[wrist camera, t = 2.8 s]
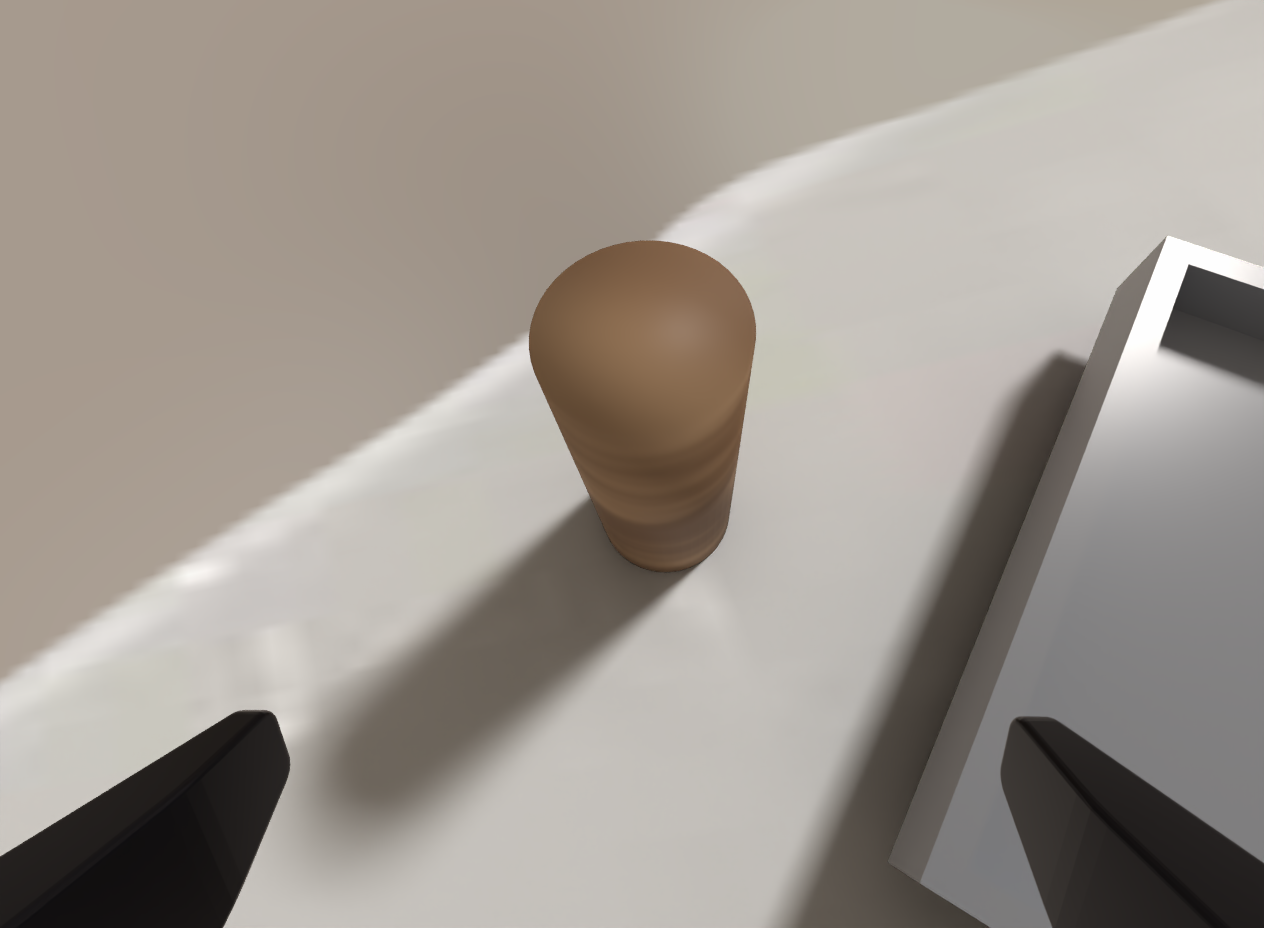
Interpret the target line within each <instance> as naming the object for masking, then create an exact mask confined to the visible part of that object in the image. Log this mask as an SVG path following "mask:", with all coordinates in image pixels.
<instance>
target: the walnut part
mask: <svg viewBox="0 0 1264 928" xmlns="http://www.w3.org/2000/svg"><path fill="white" fill-rule="evenodd" d="M755 341H756V324H755V317H754V312H753V309H752V306H751V303H750V300H749V298H748V296H747V294H746V292H745V290H744V289H743V287H742V286H741V284H740V283H739V282H738V280H737V279H736V278H735V277H734V276H733V275H732V274H731V272H730V271H729V270H728V269H726V268H725V267H724V266H723V265H722V264H720V263H719V262H718V261H716V260H715V259H713V258H711V257H710V256H708V255H706V254H704V253H702V252H700V251H698V250H696V249H693V248H690V247H687V246H684V245H680V244H676V243H671V242H663V241H635V242H626V243H621V244H617V245H613V246H610V247H606V248H603V249H600V250H598V251H596V252H594V253H591V254H589V255H587V256H585V257H584V258H582V259H580V260H579V261H577V262H575V263H574V264H573V265H571V266H570V267H569V268H567V269H566V270H565V271H564V272H563V273H562V274H561V275H559V276H558V277H557V278H556V279H555V280H554V282H553V283H552V284H551V285H550V286H549V288H548V289H547V290H546V292H545V293H544V295H543V296H542V298H541V300H540V302H539V304H538V306H537V308H536V310H535V313H534V316H533V319H532V322H531V327H530V334H529V352H530V359H531V363H532V366H533V370H534V373H535V375H536V377H537V380H538V382H539V384H540V386H541V388H542V391H543V393H544V395H545V397H546V400H547V402H548V404H549V406H550V409H551V411H552V413H553V415H554V417H555V420H556V422H557V424H558V426H559V429H560V431H561V433H562V435H563V437H564V440H565V442H566V444H567V446H568V449H569V451H570V453H571V455H572V457H573V460H574V462H575V464H576V466H577V469H578V471H579V473H580V475H581V478H582V480H583V482H584V484H585V486H586V489H587V491H588V493H589V495H590V498H591V500H592V502H593V504H594V506H595V509H596V511H597V513H598V515H599V518H600V520H601V522H602V524H603V527H604V529H605V531H606V533H607V535H608V537H609V539H610V541H611V543H612V544H613V546H614V547H615V549H616V550H617V551H618V552H619V553H620V554H621V555H622V556H623V557H624V558H625V559H627V560H628V561H630V562H631V563H633V564H635V565H637V566H639V567H641V568H644V569H647V570H651V571H656V572H675V571H680V570H684V569H687V568H690V567H692V566H694V565H696V564H698V563H700V562H701V561H703V560H704V559H706V558H707V557H708V556H709V555H710V554H711V553H712V552H713V551H714V550H715V549H716V548H717V547H718V545H719V543H720V542H721V540H722V539H723V536H724V534H725V532H726V529H727V526H728V520H729V514H730V507H731V501H732V494H733V487H734V481H735V474H736V467H737V461H738V454H739V448H740V441H741V434H742V428H743V421H744V414H745V408H746V401H747V394H748V388H749V381H750V374H751V368H752V361H753V355H754V348H755Z"/></svg>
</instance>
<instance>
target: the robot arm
mask: <svg viewBox="0 0 1264 928" xmlns="http://www.w3.org/2000/svg"><path fill="white" fill-rule="evenodd" d="M289 771H290V757H289V754H288V751H287V748H286V745H285V742H284V739H283V736H282V733H281V730H280V727H279V724H278V721H277V718H276V716H275V715H274V714H273V713H272V712H270V711H267V710H242V711H237V712H235V713H233V714H231V715H229V716H228V717H226V718H224V719H223V720H221V721H220V722H218V723H216V724H215V725H213V726H211V727H210V728H208V729H207V730H205V731H203V732H202V733H200V734H198V735H197V736H195V737H194V738H192V739H190V740H189V741H187V742H185V743H184V744H182V745H181V746H179V747H177V748H176V749H174V750H173V751H171V752H169V753H168V754H166V755H164V756H163V757H161V758H160V759H158V760H156V761H155V762H153V763H151V764H150V765H148V766H147V767H145V768H143V769H142V770H140V771H138V772H137V773H135V774H134V775H132V776H130V777H129V778H127V779H125V780H124V781H122V782H121V783H119V784H117V785H116V786H114V787H112V788H111V789H109V790H108V791H106V792H104V793H103V794H101V795H99V796H98V797H96V798H95V799H93V800H91V801H90V802H88V803H86V804H85V805H83V806H82V807H80V808H78V809H77V810H75V811H74V812H72V813H70V814H69V815H67V816H65V817H64V818H62V819H61V820H59V821H57V822H56V823H54V824H52V825H51V826H49V827H48V828H46V829H44V830H43V831H41V832H39V833H38V834H36V835H35V836H33V837H31V838H30V839H28V840H26V841H25V842H23V843H22V844H20V845H18V846H17V847H15V848H13V849H12V850H10V851H9V852H7V853H5V854H4V855H2V856H0V928H223V927H224V925H225V923H226V921H227V919H228V917H229V915H230V913H231V911H232V908H233V906H234V904H235V902H236V900H237V898H238V896H239V893H240V891H241V889H242V887H243V884H244V882H245V880H246V877H247V875H248V873H249V870H250V868H251V865H252V863H253V861H254V858H255V856H256V853H257V851H258V849H259V846H260V844H261V841H262V839H263V836H264V834H265V832H266V829H267V827H268V824H269V822H270V820H271V817H272V815H273V812H274V810H275V808H276V805H277V803H278V800H279V798H280V796H281V793H282V791H283V788H284V786H285V784H286V781H287V778H288V775H289ZM1000 778H1001V784H1002V789H1003V792H1004V795H1005V798H1006V800H1007V803H1008V806H1009V809H1010V812H1011V814H1012V817H1013V820H1014V823H1015V826H1016V829H1017V831H1018V834H1019V837H1020V840H1021V843H1022V845H1023V848H1024V851H1025V854H1026V857H1027V860H1028V862H1029V865H1030V868H1031V871H1032V874H1033V876H1034V879H1035V882H1036V885H1037V888H1038V891H1039V893H1040V896H1041V899H1042V902H1043V905H1044V908H1045V910H1046V913H1047V915H1048V918H1049V921H1050V923H1051V926H1052V928H1264V862H1262V861H1261V860H1259V859H1258V858H1256V857H1255V856H1254V855H1252V854H1251V853H1249V852H1248V851H1246V850H1245V849H1243V848H1242V847H1240V846H1239V845H1238V844H1236V843H1235V842H1233V841H1232V840H1230V839H1229V838H1227V837H1226V836H1225V835H1223V834H1222V833H1220V832H1219V831H1217V830H1216V829H1214V828H1213V827H1212V826H1210V825H1209V824H1207V823H1206V822H1204V821H1203V820H1201V819H1200V818H1199V817H1197V816H1196V815H1194V814H1193V813H1191V812H1190V811H1188V810H1187V809H1186V808H1184V807H1183V806H1181V805H1180V804H1178V803H1177V802H1175V801H1174V800H1173V799H1171V798H1170V797H1168V796H1167V795H1165V794H1164V793H1162V792H1161V791H1160V790H1158V789H1157V788H1155V787H1154V786H1152V785H1151V784H1149V783H1148V782H1146V781H1145V780H1144V779H1142V778H1141V777H1139V776H1138V775H1136V774H1135V773H1133V772H1132V771H1131V770H1129V769H1128V768H1126V767H1125V766H1123V765H1122V764H1120V763H1119V762H1118V761H1116V760H1115V759H1113V758H1112V757H1110V756H1109V755H1107V754H1106V753H1105V752H1103V751H1102V750H1100V749H1099V748H1097V747H1096V746H1094V745H1093V744H1092V743H1090V742H1089V741H1087V740H1086V739H1084V738H1083V737H1081V736H1080V735H1079V734H1077V733H1076V732H1074V731H1073V730H1071V729H1070V728H1068V727H1067V726H1066V725H1064V724H1063V723H1061V722H1060V721H1058V720H1056V719H1054V718H1051V717H1040V716H1019V717H1016V718H1014V719H1013V720H1012V722H1011V724H1010V726H1009V731H1008V735H1007V740H1006V744H1005V749H1004V753H1003V758H1002V762H1001V768H1000Z"/></svg>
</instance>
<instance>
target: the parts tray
mask: <svg viewBox="0 0 1264 928" xmlns="http://www.w3.org/2000/svg"><path fill="white" fill-rule="evenodd" d="M1019 716H1040V717H1051V718H1054V719H1056V720H1058V721H1060V722H1061V723H1063V724H1064V725H1066V726H1067V727H1068V728H1070V729H1071V730H1073V731H1074V732H1076V733H1077V734H1079V735H1080V736H1081V737H1083V738H1084V739H1086V740H1087V741H1089V742H1090V743H1092V744H1093V745H1094V746H1096V747H1097V748H1099V749H1100V750H1102V751H1103V752H1105V753H1106V754H1107V755H1109V756H1110V757H1112V758H1113V759H1115V760H1116V761H1118V762H1119V763H1120V764H1122V765H1123V766H1125V767H1126V768H1128V769H1129V770H1131V771H1132V772H1133V773H1135V774H1136V775H1138V776H1139V777H1141V778H1142V779H1144V780H1145V781H1146V782H1148V783H1149V784H1151V785H1152V786H1154V787H1155V788H1157V789H1158V790H1160V791H1161V792H1162V793H1164V794H1165V795H1167V796H1168V797H1170V798H1171V799H1173V800H1174V801H1175V802H1177V803H1178V804H1180V805H1181V806H1183V807H1184V808H1186V809H1187V810H1188V811H1190V812H1191V813H1193V814H1194V815H1196V816H1197V817H1199V818H1200V819H1201V820H1203V821H1204V822H1206V823H1207V824H1209V825H1210V826H1212V827H1213V828H1214V829H1216V830H1217V831H1219V832H1220V833H1222V834H1223V835H1225V836H1226V837H1227V838H1229V839H1230V840H1232V841H1233V842H1235V843H1236V844H1238V845H1239V846H1240V847H1242V848H1243V849H1245V850H1246V851H1248V852H1249V853H1251V854H1252V855H1254V856H1255V857H1256V858H1258V859H1259V860H1261V861H1262V862H1264V267H1261V266H1258V265H1255V264H1252V263H1249V262H1246V261H1243V260H1240V259H1237V258H1234V257H1231V256H1228V255H1225V254H1222V253H1219V252H1216V251H1213V250H1209V249H1206V248H1203V247H1200V246H1197V245H1194V244H1191V243H1188V242H1185V241H1182V240H1179V239H1176V238H1173V237H1170V236H1167V237H1166V238H1165V239H1164V240H1163V241H1162V242H1161V243H1160V244H1159V245H1158V246H1157V247H1156V248H1155V249H1154V250H1153V251H1152V252H1151V253H1150V254H1149V256H1148V257H1147V258H1146V259H1145V260H1144V261H1143V262H1142V263H1141V264H1140V265H1139V266H1138V267H1137V268H1136V269H1135V270H1134V271H1133V272H1132V273H1131V274H1130V275H1129V277H1128V278H1127V279H1126V280H1125V281H1124V282H1123V283H1122V284H1121V285H1120V286H1119V287H1118V288H1117V290H1116V292H1115V295H1114V297H1113V300H1112V302H1111V305H1110V307H1109V310H1108V312H1107V315H1106V317H1105V320H1104V322H1103V325H1102V327H1101V330H1100V332H1099V335H1098V337H1097V340H1096V342H1095V345H1094V347H1093V350H1092V352H1091V355H1090V357H1089V360H1088V362H1087V365H1086V367H1085V370H1084V372H1083V375H1082V377H1081V380H1080V382H1079V385H1078V387H1077V390H1076V392H1075V395H1074V397H1073V400H1072V402H1071V405H1070V407H1069V410H1068V412H1067V415H1066V417H1065V420H1064V422H1063V425H1062V427H1061V430H1060V432H1059V435H1058V437H1057V440H1056V442H1055V445H1054V447H1053V450H1052V452H1051V455H1050V457H1049V460H1048V462H1047V465H1046V467H1045V470H1044V472H1043V475H1042V477H1041V480H1040V482H1039V485H1038V487H1037V490H1036V492H1035V495H1034V497H1033V500H1032V502H1031V505H1030V507H1029V510H1028V512H1027V515H1026V517H1025V520H1024V522H1023V525H1022V527H1021V530H1020V532H1019V535H1018V537H1017V540H1016V542H1015V545H1014V547H1013V550H1012V552H1011V555H1010V557H1009V560H1008V562H1007V565H1006V567H1005V570H1004V572H1003V575H1002V577H1001V580H1000V582H999V585H998V587H997V590H996V592H995V595H994V597H993V600H992V602H991V604H990V607H989V609H988V612H987V614H986V617H985V619H984V622H983V624H982V627H981V629H980V632H979V634H978V637H977V639H976V642H975V644H974V647H973V649H972V652H971V654H970V657H969V659H968V662H967V664H966V667H965V669H964V672H963V674H962V677H961V679H960V682H959V684H958V687H957V689H956V692H955V694H954V697H953V699H952V702H951V704H950V707H949V709H948V712H947V714H946V717H945V719H944V722H943V724H942V727H941V729H940V732H939V734H938V737H937V739H936V742H935V744H934V747H933V749H932V752H931V754H930V757H929V759H928V762H927V764H926V767H925V769H924V772H923V774H922V777H921V779H920V782H919V784H918V787H917V789H916V792H915V794H914V797H913V799H912V802H911V804H910V807H909V809H908V812H907V814H906V817H905V819H904V822H903V824H902V827H901V829H900V832H899V834H898V837H897V839H896V842H895V844H894V847H893V849H892V852H891V854H890V857H889V859H888V863H889V864H891V865H892V866H894V867H896V868H897V869H899V870H900V871H902V872H903V873H905V874H906V875H908V876H909V877H911V878H912V879H914V880H915V881H917V882H918V883H920V884H922V885H923V886H925V887H926V888H928V889H930V890H931V891H933V892H934V893H936V894H938V895H939V896H941V897H942V898H944V899H945V900H947V901H949V902H950V903H952V904H953V905H955V906H957V907H958V908H960V909H961V910H963V911H965V912H966V913H968V914H969V915H971V916H973V917H974V918H976V919H977V920H979V921H981V922H982V923H984V924H985V925H987V926H989V927H990V928H1052V926H1051V923H1050V921H1049V918H1048V915H1047V913H1046V910H1045V908H1044V905H1043V902H1042V899H1041V896H1040V893H1039V891H1038V888H1037V885H1036V882H1035V879H1034V876H1033V874H1032V871H1031V868H1030V865H1029V862H1028V860H1027V857H1026V854H1025V851H1024V848H1023V845H1022V843H1021V840H1020V837H1019V834H1018V831H1017V829H1016V826H1015V823H1014V820H1013V817H1012V814H1011V812H1010V809H1009V806H1008V803H1007V800H1006V798H1005V795H1004V792H1003V789H1002V784H1001V778H1000V768H1001V762H1002V758H1003V753H1004V749H1005V744H1006V740H1007V735H1008V731H1009V726H1010V724H1011V722H1012V720H1013V719H1014V718H1016V717H1019Z"/></svg>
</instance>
